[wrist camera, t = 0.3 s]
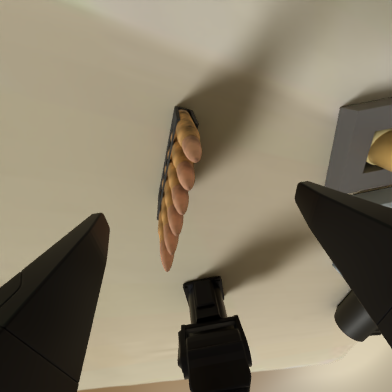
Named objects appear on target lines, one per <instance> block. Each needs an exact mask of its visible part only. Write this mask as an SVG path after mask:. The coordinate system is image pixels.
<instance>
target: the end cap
mask: <svg viewBox="0 0 392 392" xmlns="http://www.w3.org/2000/svg"><path fill="white" fill-rule="evenodd" d="M334 318H335V321H336V323H337V325H338V327H339V328H340V329H341V330H342V331H343V332H344V333H345V334H346V335H347V336H349V337H350V338H352V339H354V340H356V341H361V342H362V341H364V340H365V339H366V338H367V337H368V336H372V335H381V332H380V331H379V329H378V328H377V325H376V324H375V323H374V322H373V320H372V319H371V317H370V316H369V314H368V313H367V311H366V310H365V308H364V307H363V306H362V304H361V303H360V301H359V300H358V298H357V297H356V295H355V294H354V292H353V291H351V292H350V293H349V294H348V296H347V297H346V298H345V299H344V300H343V301H342V303H341V304H340V305H339V306H338V307H337V309H336V312H335V315H334Z"/></svg>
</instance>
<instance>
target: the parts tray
mask: <svg viewBox="0 0 392 392" xmlns="http://www.w3.org/2000/svg"><path fill="white" fill-rule="evenodd" d="M352 196H355V197H359V198H362V199H365V200H368V201H371V202H374V203H377V204H380V205H383V206H386V207H390V208H392V187H389V188H384V189H380V190H375V191H370V192H365V193H360V194H355V195H352ZM332 265H333V266H334V267H335V269H336V270H337V271H338V272H339V270H338V269H337V268H336V266H335V265H334V263H333V264H332ZM339 273H340V272H339ZM340 274H341V273H340ZM341 276H342V275H341ZM342 277H343V276H342Z"/></svg>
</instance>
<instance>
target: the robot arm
mask: <svg viewBox="0 0 392 392" xmlns="http://www.w3.org/2000/svg"><path fill="white" fill-rule="evenodd" d="M295 202H296V204H297V206H298V208H299V209H300V211H301V213H302V215H303V217H304V219H305V221H306V223H307V224H308V226H309V228H310V229H311V231H312V233H313V234H314V235H315V237H316V238H317V240H318V241H319V243H320V244H321V246H322V247H323V249H324V250H325V252H326V253H327V254H328V256H329V257H330V259H331V260H332V262H333V263H334V265H335V266H336V268H337V269H338V270H339V272H340V273H341V275H342V276H343V278H344V279H345V281H346V282H347V284H348V285H349V287H350V288H351V289H352V291H353V292H354V294H355V295H356V297H357V298H358V300H359V301H360V303H361V304H362V306H363V307H364V308H365V310H366V311H367V313H368V314H369V316H370V317H371V319H372V320H373V322H374V323H375V324H376V325H377V328H378V329H379V331H380V332H381V334H382V335H383V336H384V338H385V339H386V340H387V342H388V344H389V345H390V346H391V348H392V208H390V207H386V206H383V205H380V204H377V203H374V202H371V201H368V200H365V199H362V198H359V197H355V196H352V195H349V194H346V193H343V192H340V191H337V190H334V189H331V188H328V187H325V186H321V185H318V184H315V183H312V182H309V181H305V182H300V183H298V185H297V189H296V194H295ZM109 233H110V228H109V225H108V223H107V221H106V218H105V216H104V214H103V213H95V214H92V215H91V216H89V217H88V218H87V219H86V220H84V221H83V222H82V223H81V224H79V225H78V226H77V227H76V228H74V229H73V230H72V231H71V232H69V233H68V234H67V235H66V236H64V237H63V238H62V239H61V240H59V241H58V242H57V243H56V244H54V245H53V246H52V247H51V248H49V249H48V250H47V251H46V252H44V253H43V254H42V255H41V256H39V257H38V258H37V259H36V260H34V261H33V262H32V263H31V264H29V265H28V266H27V267H26V268H24V269H23V270H22V271H21V272H19V273H18V274H17V275H16V276H14V277H13V278H12V279H11V280H9V281H8V282H7V283H5V284H4V285H3V286H2V287H0V392H77V389H78V385H79V384H78V383H79V380H80V375H81V371H82V367H83V362H84V358H85V353H86V349H87V345H88V340H89V336H90V332H91V327H92V323H93V319H94V314H95V310H96V306H97V301H98V297H99V292H100V288H101V284H102V279H103V275H104V271H105V266H106V261H107V253H108V243H109ZM183 289H184V292H185V295H186V298H187V301H188V305H189V308H190V318H191V324H189V325H181V331H180V332H178V336H179V349H178V366H179V367H180V368H181V369H182V372H183V374H184V379H185V380H186V379H189V387H190V390H191V392H250V384H251V373H250V369H249V367H251V366H252V360H251V355H250V350H249V346H248V343H247V340H246V337H245V334H244V331H243V329H242V326H241V323H240V320H239V318H238V315H234V316H232V317H227V314H226V310H225V306H224V302H223V300H224V294H223V287H222V280H221V277H219V276H217V277H213V278H208V279H203V280H198V281H194V282H189V283H185V284H183Z"/></svg>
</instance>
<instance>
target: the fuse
mask: <svg viewBox="0 0 392 392" xmlns="http://www.w3.org/2000/svg"><path fill="white" fill-rule="evenodd" d="M366 162H368V163H370V164H372V165H377V166H379V167H381V168H384V169H386V170H388V171H390V172H392V128H390V129H385V130H380V131H375V133H374V137H373V140H372V143H371V147H370V150H369V153H368V157H367V160H366Z"/></svg>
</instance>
